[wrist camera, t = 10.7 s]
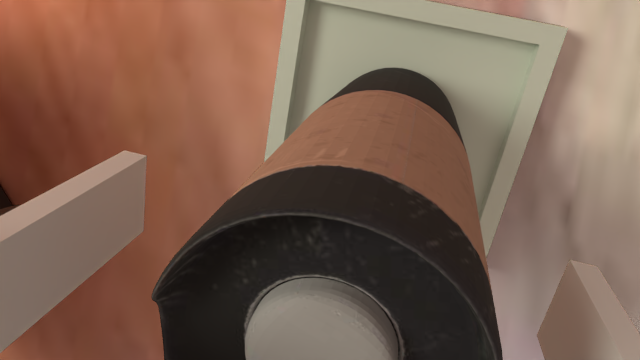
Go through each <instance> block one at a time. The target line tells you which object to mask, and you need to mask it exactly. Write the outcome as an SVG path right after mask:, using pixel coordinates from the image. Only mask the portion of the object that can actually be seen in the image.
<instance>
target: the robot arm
mask: <svg viewBox="0 0 640 360" xmlns="http://www.w3.org/2000/svg"><path fill="white" fill-rule="evenodd" d="M146 161H147V156H146V155H142V154H138V153H134V152H130V151H125V150H124V151H122V152H120V153H118V154H117V155H115V156H113V157H111V158H109V159H107V160H105V161H103V162H101V163H100V164H98V165H96V166H94V167H92V168H90V169H88V170H86V171H84V172H83V173H81V174H79V175H77V176H75V177H73V178H71V179H69V180H67V181H66V182H64V183H62V184H60V185H58V186H56V187H54V188H52V189H50V190H49V191H47V192H45V193H43V194H41V195H39V196H37V197H35V198H33V199H32V200H30V201H28V202H26V203H24V204H22V205H14V206H12V205H11V203H10V201H9V199H8V198H7V196H6V194H5V193H4V191H3V190H2V188H1V187H0V353H1V352H2V351H3V350H4V349H6V348H7V347H8V346H9V345H10V344H11V343H13V342H14V341H15V340H16V339H17V338H18V337H20V336H21V335H22V334H23V333H24V332H25V331H27V330H28V329H29V328H30V327H31V326H33V325H34V324H35V323H36V322H37V321H38V320H40V319H41V318H42V317H43V316H44V315H45V314H47V313H48V312H49V311H50V310H51V309H53V308H54V307H55V306H56V305H57V304H58V303H60V302H61V301H62V300H63V299H64V298H65V297H67V296H68V295H69V294H70V293H71V292H73V291H74V290H75V289H76V288H77V287H78V286H80V285H81V284H82V283H83V282H84V281H85V280H87V279H88V278H89V277H90V276H91V275H92V274H94V273H95V272H96V271H97V270H98V269H100V268H101V267H102V266H103V265H104V264H105V263H107V262H108V261H109V260H110V259H111V258H112V257H114V256H115V255H116V254H117V253H118V252H120V251H121V250H122V249H123V248H124V247H125V246H127V245H128V244H129V243H130V242H131V241H132V240H134V239H135V238H136V237H137V236H138V235H140V234H141V233H142V232H143V231H144V210H145V185H146ZM537 337H538V340H539V343H540V346H541V349H542V352H543V355H544V358H545V360H640V334H639V332H638V331H637V329H636V328H635V326H634V324H633V323H632V321H631V320H630V318H629V316H628V315H627V313H626V312H625V310H624V308H623V307H622V305H621V304H620V302H619V300H618V299H617V297H616V296H615V294H614V292H613V291H612V289H611V288H610V286H609V284H608V283H607V281H606V279H605V278H604V276H603V275H602V273H601V271H600V270H599V268H598V267H597V266H594V265H590V264H586V263H582V262H578V261H574V260H569V263H568V265H567V267H566V269H565V272H564V274H563V276H562V279H561V281H560V283H559V286H558V288H557V290H556V293H555V295H554V297H553V300H552V302H551V304H550V306H549V309H548V311H547V313H546V316H545V318H544V320H543V323H542V325H541V327H540V330H539V332H538V334H537Z"/></svg>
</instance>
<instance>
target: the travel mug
mask: <svg viewBox="0 0 640 360" xmlns="http://www.w3.org/2000/svg"><path fill="white" fill-rule="evenodd" d="M152 300H153V301H155V302H156V303H157V305H158V307H159V312H160V319H161V327H162V336H163V345H164V360H503V358H502V348H501V342H500V336H499V331H498V325H497V319H496V313H495V308H494V302H493V296H492V290H491V285H490V279H489V273H488V267H487V261H486V256H485V250H484V244H483V238H482V232H481V227H480V221H479V215H478V209H477V203H476V198H475V192H474V186H473V180H472V174H471V168H470V164H469V160H468V156H467V152H466V149H465V146H464V143H463V139H462V136H461V133H460V130H459V127H458V124H457V120H456V117H455V115H454V112H453V109H452V107H451V104H450V102H449V101H448V99H447V97H446V96H445V94H444V93H443V92H442V90H441V89H440V88H439V87H438V86H437V85H436V84H435V83H434V82H432V81H431V80H430V79H429V78H427V77H425V76H423V75H422V74H420V73H417V72H415V71H412V70H408V69H404V68H382V69H377V70H373V71H370V72H368V73H366V74H363V75H361V76H360V77H358V78H356V79H355V80H353V81H352V82H350V83H349V84H348V85H347V86H345V87H344V88H343V89H342V90H340V91H339V92H338V93H337V94H335V95H334V96H333V97H332V98H330V99H329V100H328V101H326V102H325V103H324V104H323V105H321V106H320V107H319V108H318V109H317V110H315V111H314V112H313V113H312V114H311V115H310V116H309V117H308V118H307V119H306V120H305V121H304V122H303V123H302V124H301V125H300V126H299V127H298V128H297V129H296V130H295V131H294V132H293V133H292V134H291V135H290V136H289V137H288V138H287V139H286V140H285V141H284V142H283V143H282V144H281V146H280V147H279V148H278V149H277V150H276V151H275V152H274V153H273V154H272V155H271V156H270V157H269V158H268V159H267V160H266V161H265V162H264V163H263V164H262V165H261V166H260V167H259V168H258V169H257V170H256V171H255V172H254V173H253V174H252V175H251V176H250V178H249V179H248V180H247V181H246V182H245V183H244V184H243V185H242V186H241V187H240V188H239V189H238V190H237V191H236V192H235V193H234V194H233V195H232V196H231V197H230V198H229V199H228V200H227V201H226V202H225V203H224V204H223V205H222V206H221V207H220V208H219V209H218V210H217V212H216V213H215V214H214V215H213V216H212V217H211V218H210V219H209V220H208V221H207V222H206V223H205V224H204V225H203V226H202V227H201V228H200V229H199V230H198V231H197V232H196V233H195V234H194V235H193V236H192V237H191V238H190V239H189V241H188V242H187V243H186V244H185V245H184V246H183V247H182V248H181V249H180V250H179V252H178V253H177V254H176V255H175V256H174V257H173V259H172V260H171V262H170V263H169V264H168V266H167V267H166V268H165V270H164V271H163V273H162V275H161V277H160V278H159V280H158V282H157V284H156V286H155V288H154V290H153V293H152Z"/></svg>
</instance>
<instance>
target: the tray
mask: <svg viewBox="0 0 640 360" xmlns="http://www.w3.org/2000/svg"><path fill="white" fill-rule="evenodd" d="M567 30H568V28H567V27H563V26H559V25H553V24H548V23H543V22H538V21H533V20H527V19H522V18H517V17H512V16H507V15H501V14H496V13H491V12H486V11H481V10H475V9H470V8H465V7H460V6H455V5H449V4H444V3H439V2H434V1H428V0H287V1H286V8H285V16H284V23H283V30H282V37H281V44H280V51H279V59H278V66H277V73H276V80H275V87H274V95H273V102H272V109H271V116H270V123H269V131H268V138H267V145H266V152H265V159H264V162H265V161H266V160H267V159H268V158H269V157H270V156H271V155H272V154H273V153H274V152H275V151H276V150H277V149H278V148H279V147H280V146H281V144H282V143H283V142H284V141H285V140H286V139H287V138H288V137H289V136H290V135H291V134H292V133H293V132H294V131H295V130H296V129H297V128H298V127H299V126H300V125H301V124H302V123H303V122H304V121H305V120H306V119H307V118H308V117H309V116H310V115H311V114H312V113H313V112H314V111H315V110H317V109H318V108H319V107H320V106H321V105H323V104H324V103H325V102H326V101H328V100H329V99H330V98H332V97H333V96H334V95H335V94H337V93H338V92H339V91H340V90H342V89H343V88H344V87H345V86H347V85H348V84H349V83H350V82H352V81H353V80H355V79H356V78H358V77H360V76H361V75H363V74H366V73H368V72H370V71H373V70H377V69H382V68H404V69H408V70H412V71H415V72H417V73H420V74H422V75H423V76H425V77H427V78H429V79H430V80H431V81H432V82H434V83H435V84H436V85H437V86H438V87H439V88H440V89H441V90H442V92H443V93H444V94H445V96H446V97H447V99H448V101H449V102H450V104H451V107H452V109H453V112H454V115H455V117H456V120H457V124H458V127H459V130H460V133H461V136H462V139H463V143H464V146H465V149H466V152H467V156H468V160H469V164H470V168H471V174H472V180H473V186H474V192H475V198H476V203H477V209H478V215H479V221H480V227H481V232H482V238H483V244H484V250H485V256H486V258H487V255H488V252H489V249H490V246H491V244H492V241H493V238H494V235H495V232H496V230H497V227H498V224H499V221H500V218H501V216H502V213H503V210H504V207H505V204H506V202H507V199H508V196H509V193H510V190H511V187H512V185H513V182H514V179H515V176H516V173H517V171H518V168H519V165H520V162H521V159H522V157H523V154H524V151H525V148H526V145H527V143H528V140H529V137H530V134H531V131H532V128H533V126H534V123H535V120H536V117H537V114H538V112H539V109H540V106H541V103H542V100H543V98H544V95H545V92H546V89H547V86H548V84H549V81H550V78H551V75H552V72H553V70H554V67H555V64H556V61H557V58H558V55H559V53H560V50H561V47H562V44H563V41H564V39H565V36H566V33H567Z"/></svg>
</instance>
